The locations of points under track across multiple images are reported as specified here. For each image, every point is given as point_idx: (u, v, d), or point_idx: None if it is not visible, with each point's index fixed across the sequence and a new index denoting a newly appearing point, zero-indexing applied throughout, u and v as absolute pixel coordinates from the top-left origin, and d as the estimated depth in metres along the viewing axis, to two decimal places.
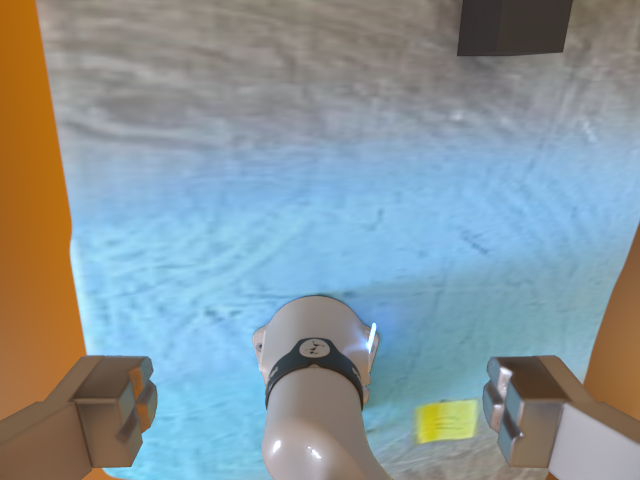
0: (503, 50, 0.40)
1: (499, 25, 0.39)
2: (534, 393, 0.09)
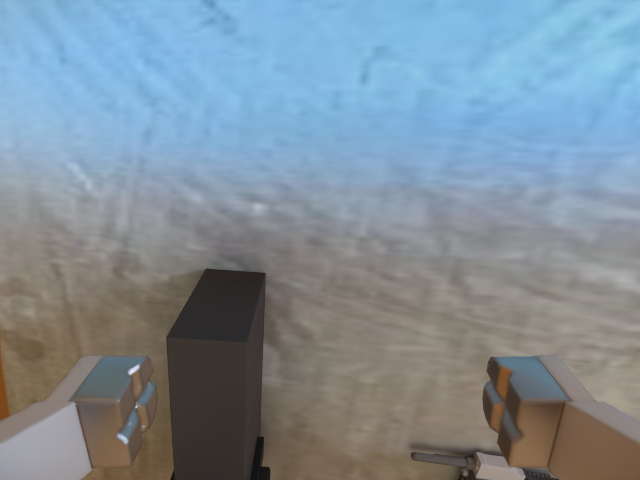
0: (238, 343, 0.33)
1: (247, 365, 0.34)
2: (534, 393, 0.09)
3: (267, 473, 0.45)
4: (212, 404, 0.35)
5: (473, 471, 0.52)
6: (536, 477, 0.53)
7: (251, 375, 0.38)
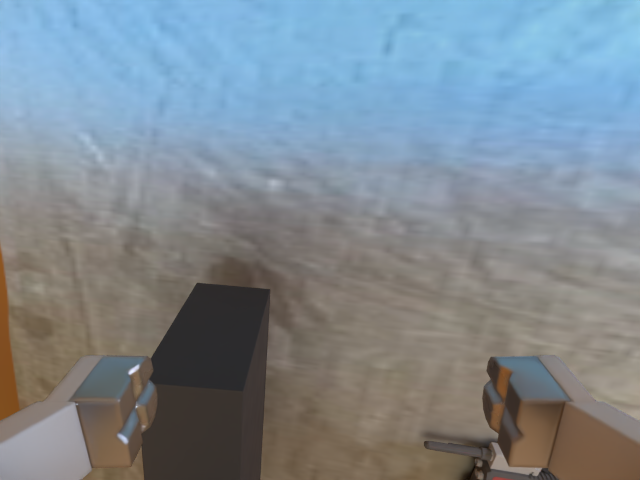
0: (232, 392, 0.25)
1: (243, 418, 0.26)
2: (534, 393, 0.09)
3: None
4: (197, 466, 0.27)
5: (488, 462, 0.51)
6: None
7: (249, 424, 0.30)
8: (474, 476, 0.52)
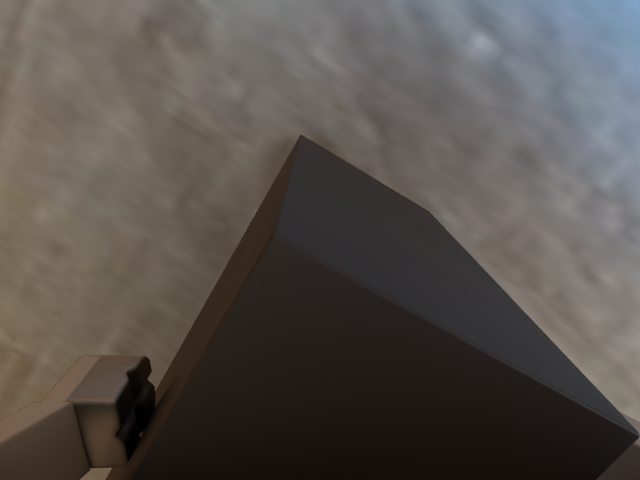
0: (604, 426, 0.06)
1: None
2: None
3: None
4: None
5: None
6: None
7: None
8: None
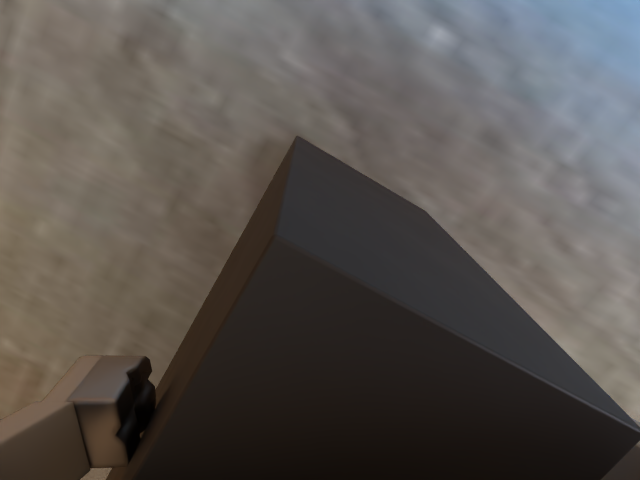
0: (609, 424, 0.06)
1: None
2: None
3: None
4: None
5: None
6: None
7: None
8: None
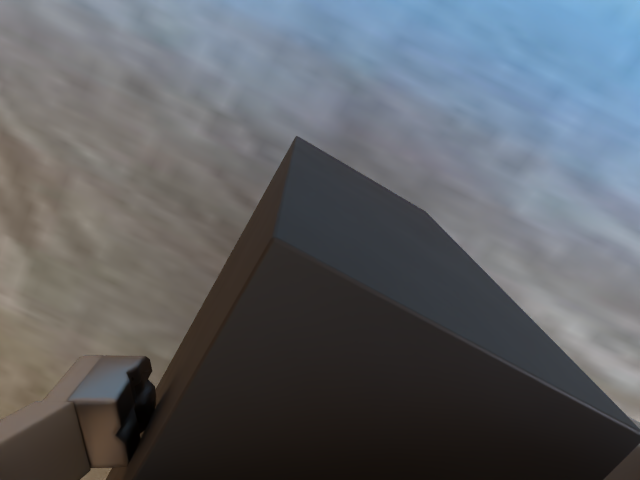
0: (610, 427, 0.06)
1: None
2: None
3: None
4: None
5: None
6: None
7: None
8: None
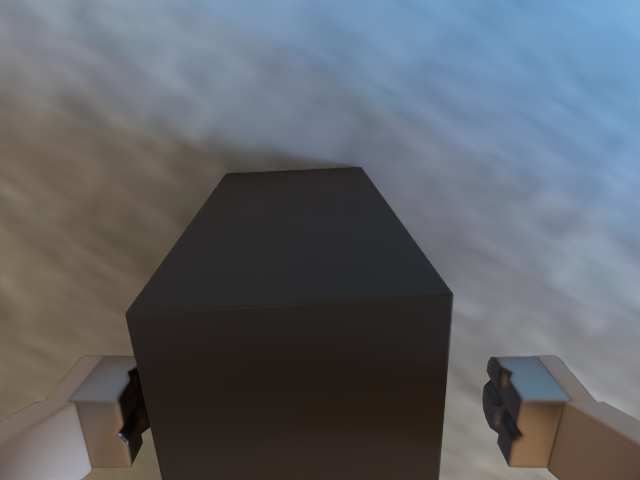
0: (420, 303, 0.08)
1: (443, 383, 0.09)
2: (534, 393, 0.09)
3: None
4: None
5: None
6: None
7: None
8: None
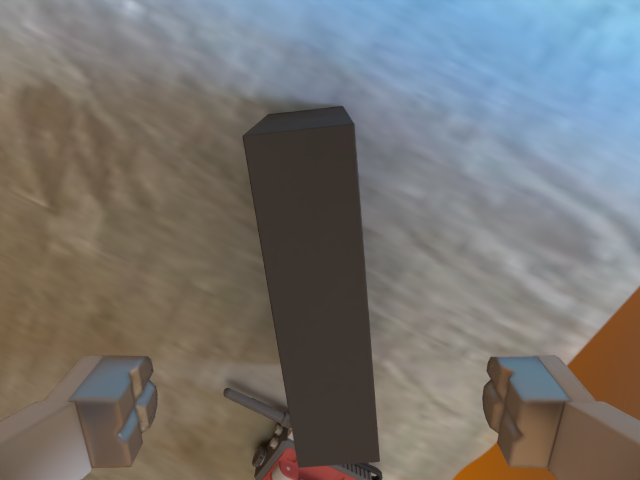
0: (342, 127, 0.23)
1: None
2: (534, 393, 0.09)
3: None
4: (316, 234, 0.26)
5: (287, 431, 0.45)
6: None
7: None
8: (270, 444, 0.46)
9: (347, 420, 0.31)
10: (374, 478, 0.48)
